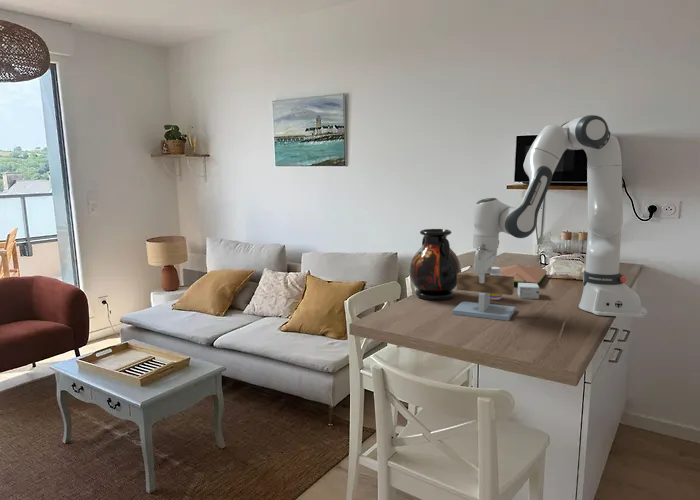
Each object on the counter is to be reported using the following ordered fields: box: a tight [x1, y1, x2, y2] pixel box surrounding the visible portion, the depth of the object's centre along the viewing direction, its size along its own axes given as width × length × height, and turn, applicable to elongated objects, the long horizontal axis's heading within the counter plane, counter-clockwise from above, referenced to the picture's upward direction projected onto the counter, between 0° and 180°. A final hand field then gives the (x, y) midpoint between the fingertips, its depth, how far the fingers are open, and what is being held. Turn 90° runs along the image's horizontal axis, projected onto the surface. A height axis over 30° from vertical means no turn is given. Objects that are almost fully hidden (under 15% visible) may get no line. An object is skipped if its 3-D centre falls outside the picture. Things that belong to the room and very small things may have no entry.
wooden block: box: [456, 272, 515, 296], centre depth 180 cm, size 20×4×6 cm, turn 63°
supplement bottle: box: [490, 266, 503, 301], centre depth 201 cm, size 7×7×13 cm
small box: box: [517, 282, 540, 300], centre depth 203 cm, size 8×8×5 cm
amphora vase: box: [409, 228, 462, 301], centre depth 205 cm, size 22×22×28 cm
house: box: [499, 264, 548, 288], centre depth 233 cm, size 23×33×8 cm
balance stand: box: [452, 292, 516, 321], centre depth 181 cm, size 20×14×8 cm
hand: (484, 280), depth 180 cm, fingers open, 8 cm apart
